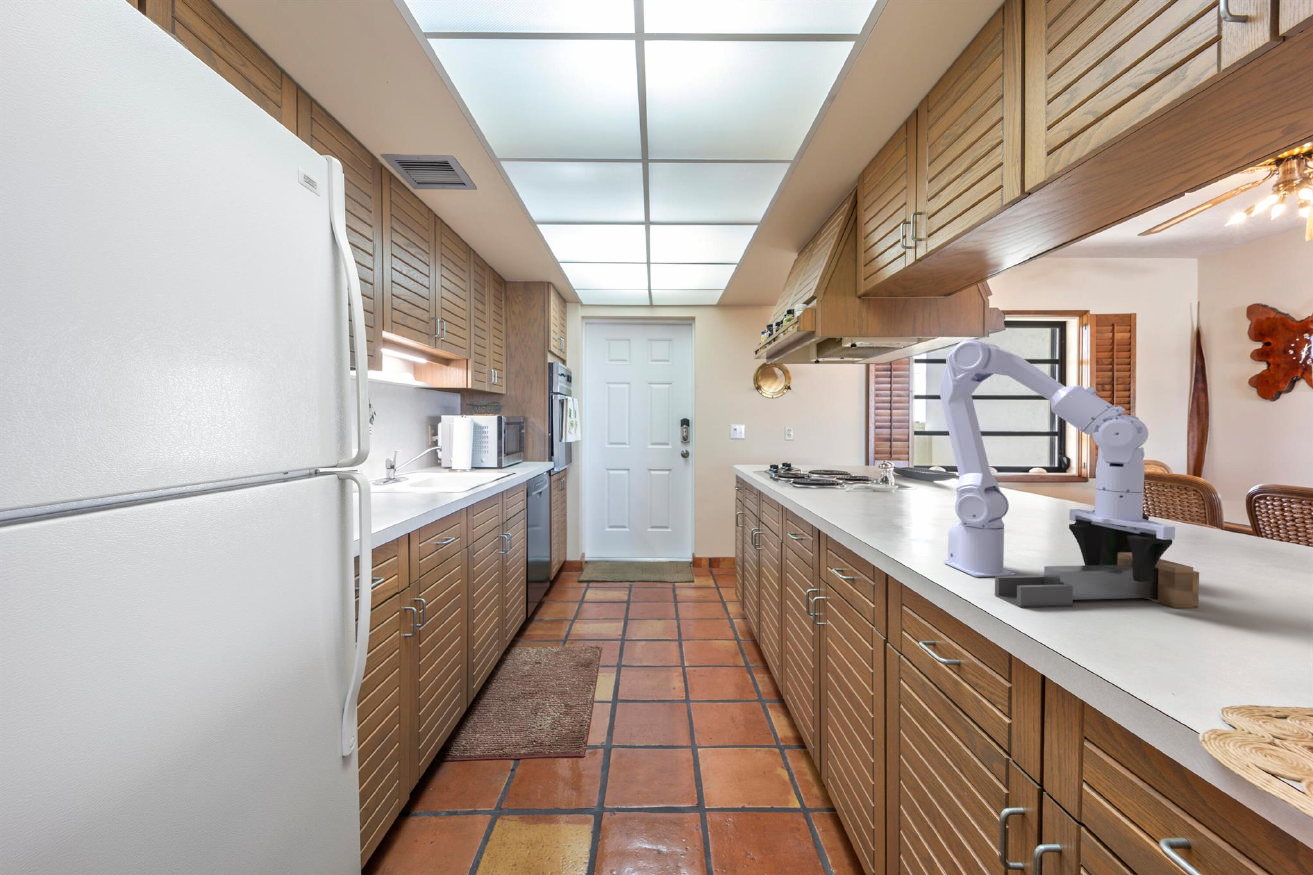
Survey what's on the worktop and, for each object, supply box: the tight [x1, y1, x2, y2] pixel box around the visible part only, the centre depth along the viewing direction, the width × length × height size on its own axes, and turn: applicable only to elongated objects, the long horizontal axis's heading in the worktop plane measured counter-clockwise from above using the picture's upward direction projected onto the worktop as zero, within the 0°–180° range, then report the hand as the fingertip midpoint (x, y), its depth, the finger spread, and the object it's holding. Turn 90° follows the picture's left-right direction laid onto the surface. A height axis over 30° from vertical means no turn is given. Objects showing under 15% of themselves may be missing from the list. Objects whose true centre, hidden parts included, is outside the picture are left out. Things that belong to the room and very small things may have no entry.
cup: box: [1093, 509, 1150, 565], centre depth 92 cm, size 8×8×12 cm
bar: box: [1043, 564, 1159, 601], centre depth 81 cm, size 3×18×5 cm, turn 94°
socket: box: [1117, 552, 1200, 609], centre depth 82 cm, size 9×4×6 cm, turn 4°
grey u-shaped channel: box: [994, 574, 1073, 609], centre depth 81 cm, size 5×8×3 cm, turn 94°
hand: (1115, 573), depth 82 cm, fingers open, 7 cm apart
